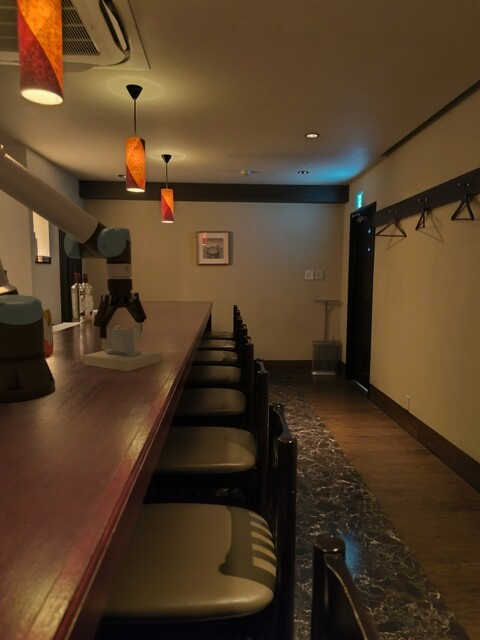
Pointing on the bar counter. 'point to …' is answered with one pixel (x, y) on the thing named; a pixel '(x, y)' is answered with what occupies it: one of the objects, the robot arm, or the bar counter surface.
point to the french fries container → (48, 333)
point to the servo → (122, 342)
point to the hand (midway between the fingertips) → (122, 345)
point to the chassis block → (122, 360)
